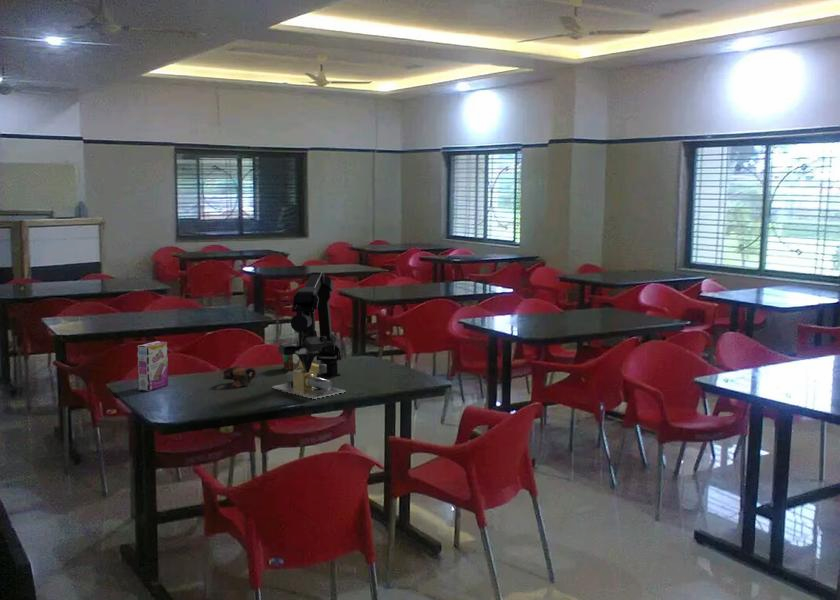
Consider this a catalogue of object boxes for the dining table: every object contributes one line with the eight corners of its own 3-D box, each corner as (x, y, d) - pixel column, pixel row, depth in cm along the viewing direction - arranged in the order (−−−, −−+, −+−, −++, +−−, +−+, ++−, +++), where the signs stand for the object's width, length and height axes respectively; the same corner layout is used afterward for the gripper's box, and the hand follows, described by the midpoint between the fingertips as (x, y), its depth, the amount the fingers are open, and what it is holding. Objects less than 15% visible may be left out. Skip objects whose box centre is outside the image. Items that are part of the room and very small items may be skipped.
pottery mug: (228, 390, 306) (220, 369, 307) (228, 396, 314) (220, 376, 316) (260, 379, 309) (252, 358, 311) (259, 385, 318) (251, 365, 320)
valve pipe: (272, 388, 306) (271, 366, 305) (303, 382, 316) (302, 360, 315) (314, 399, 290) (313, 376, 289) (345, 392, 300) (345, 370, 299)
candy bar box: (149, 392, 302) (147, 346, 300) (138, 390, 304) (136, 345, 301) (169, 385, 312) (167, 341, 310) (158, 384, 314) (156, 340, 312)
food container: (286, 365, 346) (285, 341, 345) (301, 365, 346) (300, 341, 344) (277, 371, 334) (276, 346, 333) (292, 372, 333) (291, 347, 332)
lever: (297, 367, 303) (297, 359, 303) (306, 366, 306) (305, 358, 305) (320, 374, 292) (320, 366, 292) (329, 372, 295) (329, 364, 294)
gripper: (289, 332, 278) (290, 379, 280) (341, 328, 287) (342, 373, 289) (277, 328, 287) (278, 373, 289) (327, 324, 297) (328, 368, 299)
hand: (307, 372), depth 291 cm, fingers closed
